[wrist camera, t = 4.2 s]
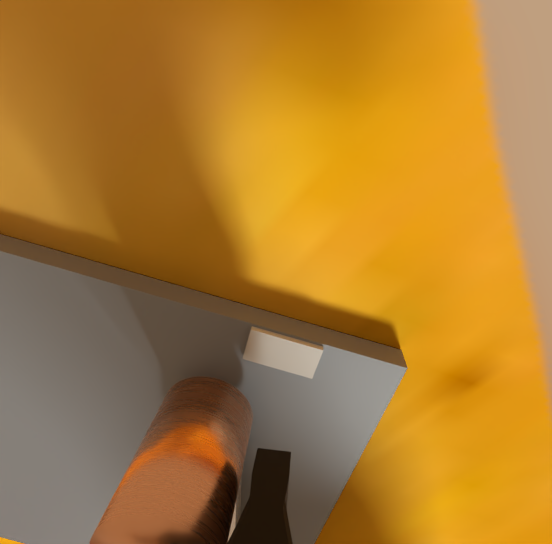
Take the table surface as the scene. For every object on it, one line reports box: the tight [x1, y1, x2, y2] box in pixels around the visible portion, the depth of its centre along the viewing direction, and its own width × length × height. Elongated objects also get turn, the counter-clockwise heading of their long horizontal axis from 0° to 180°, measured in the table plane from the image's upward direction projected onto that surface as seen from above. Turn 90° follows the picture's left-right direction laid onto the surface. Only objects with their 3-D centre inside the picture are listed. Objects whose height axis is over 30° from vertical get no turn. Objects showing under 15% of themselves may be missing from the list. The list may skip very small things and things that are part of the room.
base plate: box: [0, 234, 407, 544], centre depth 16 cm, size 16×16×2 cm
